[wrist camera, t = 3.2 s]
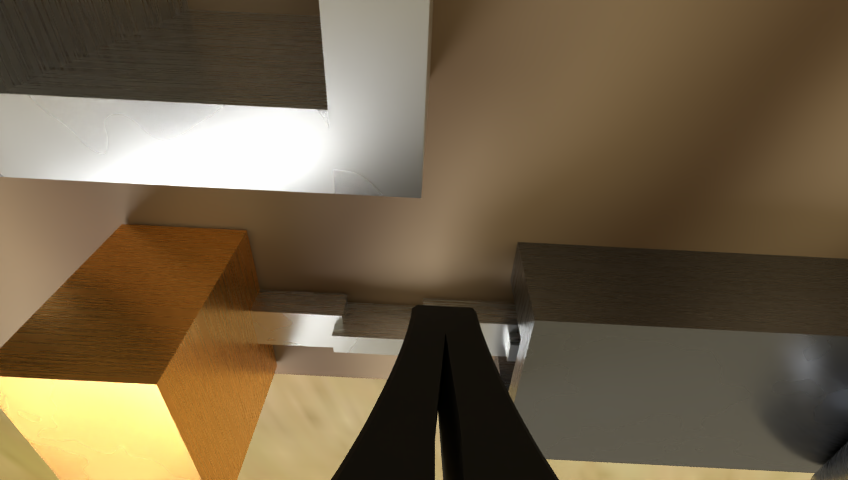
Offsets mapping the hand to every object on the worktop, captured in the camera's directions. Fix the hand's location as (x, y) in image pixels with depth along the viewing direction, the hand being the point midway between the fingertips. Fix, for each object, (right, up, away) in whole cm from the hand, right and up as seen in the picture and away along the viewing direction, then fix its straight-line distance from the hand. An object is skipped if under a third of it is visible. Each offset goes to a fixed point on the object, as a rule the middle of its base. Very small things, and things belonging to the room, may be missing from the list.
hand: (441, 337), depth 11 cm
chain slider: (+1, 0, +2) cm, 2 cm away
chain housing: (+7, 0, +2) cm, 7 cm away
